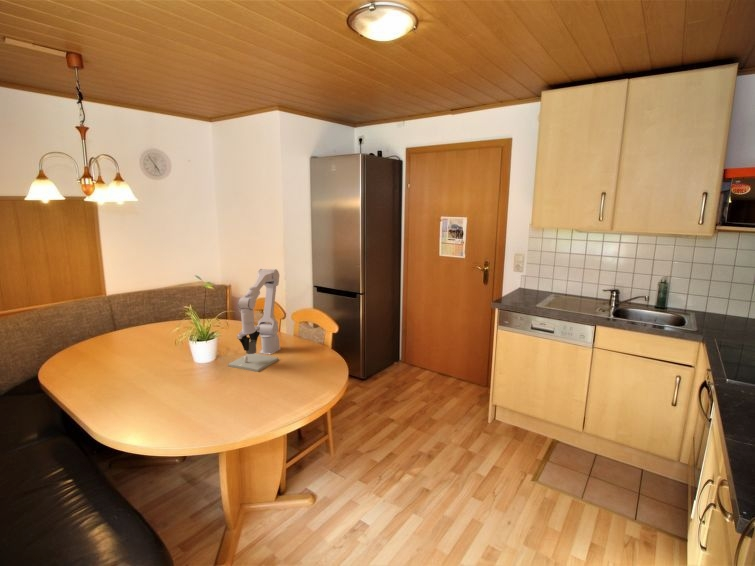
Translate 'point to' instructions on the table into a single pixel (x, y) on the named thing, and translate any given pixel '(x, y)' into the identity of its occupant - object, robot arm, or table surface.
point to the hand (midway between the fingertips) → (250, 348)
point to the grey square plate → (253, 362)
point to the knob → (252, 347)
